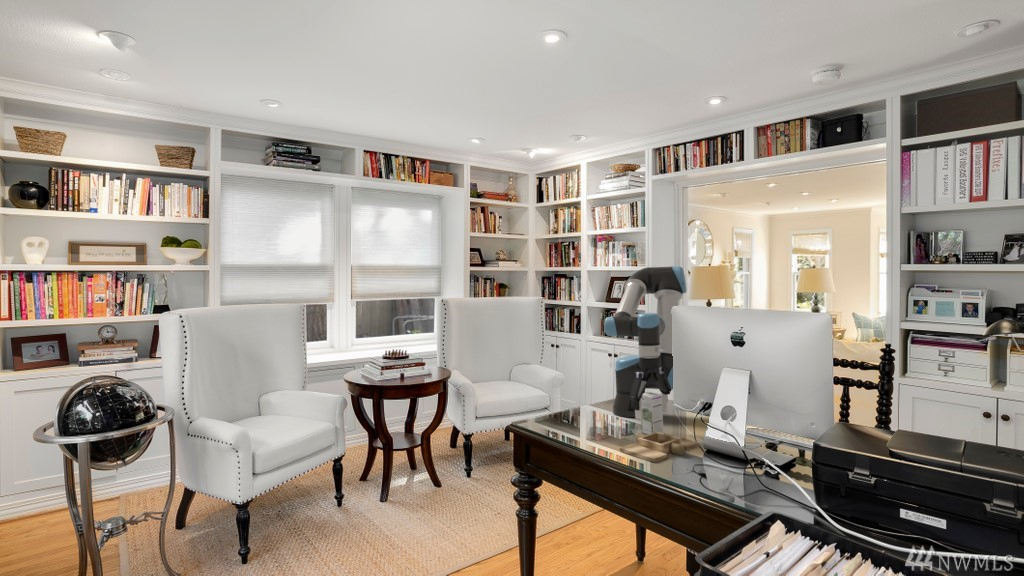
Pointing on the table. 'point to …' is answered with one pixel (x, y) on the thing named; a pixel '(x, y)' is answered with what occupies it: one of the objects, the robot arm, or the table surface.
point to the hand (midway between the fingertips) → (651, 415)
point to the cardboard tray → (658, 446)
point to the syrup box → (652, 413)
